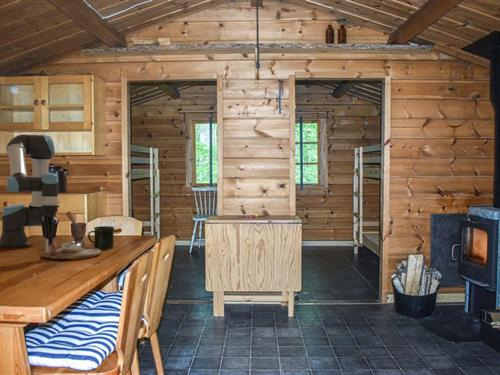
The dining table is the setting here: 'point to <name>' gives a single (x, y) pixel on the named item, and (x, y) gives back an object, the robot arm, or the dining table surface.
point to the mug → (103, 237)
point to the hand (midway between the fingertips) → (49, 251)
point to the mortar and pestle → (77, 229)
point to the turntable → (83, 254)
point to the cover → (71, 247)
